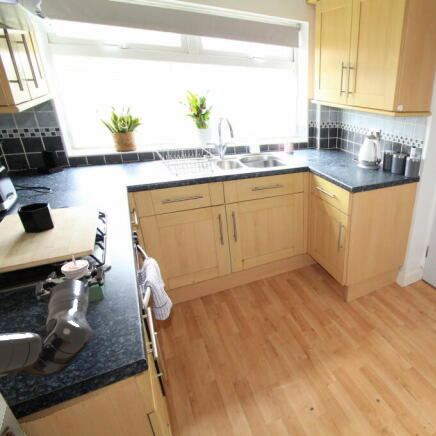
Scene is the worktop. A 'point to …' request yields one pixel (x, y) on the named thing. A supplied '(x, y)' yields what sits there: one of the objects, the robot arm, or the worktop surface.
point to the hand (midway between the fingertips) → (73, 270)
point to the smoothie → (75, 268)
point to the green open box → (94, 291)
